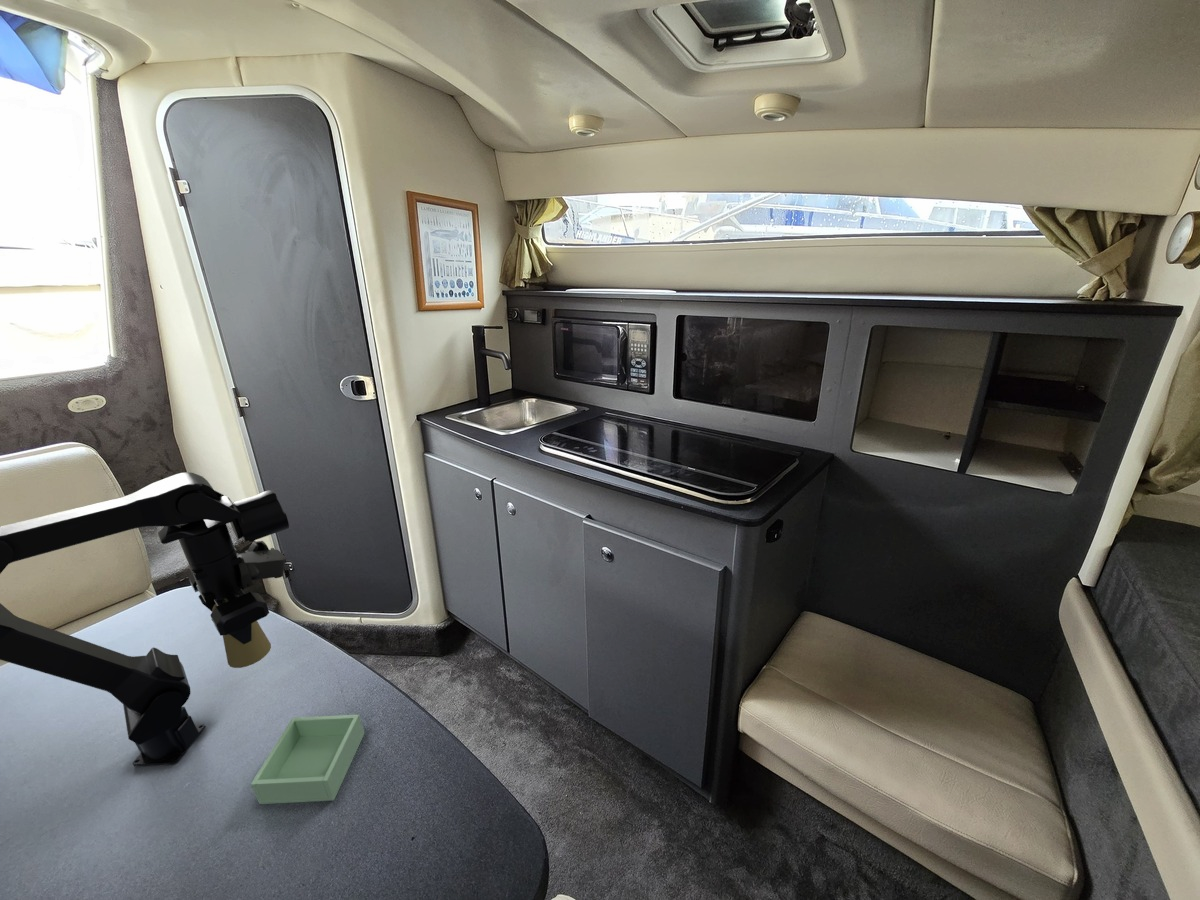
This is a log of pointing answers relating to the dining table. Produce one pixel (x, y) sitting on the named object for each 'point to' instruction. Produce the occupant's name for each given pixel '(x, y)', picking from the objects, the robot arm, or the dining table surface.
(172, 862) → the dining table surface
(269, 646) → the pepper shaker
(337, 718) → the tray
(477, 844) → the dining table surface
